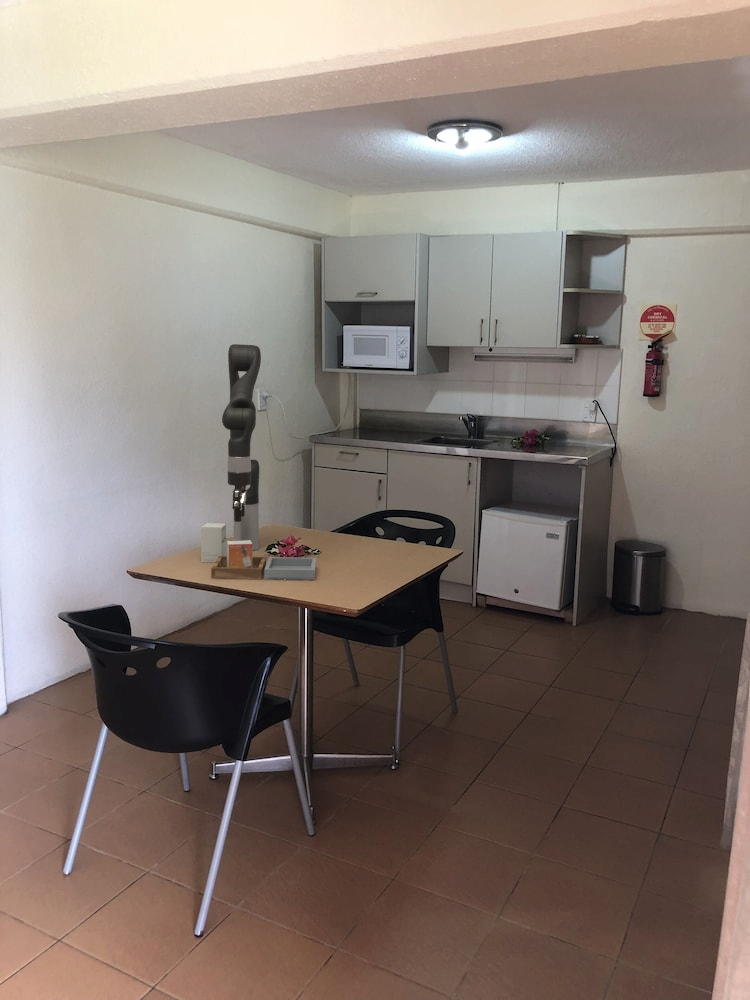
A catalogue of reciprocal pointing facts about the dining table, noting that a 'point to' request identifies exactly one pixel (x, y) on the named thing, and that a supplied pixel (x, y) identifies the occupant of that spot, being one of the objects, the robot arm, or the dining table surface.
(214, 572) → the frame
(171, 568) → the dining table surface
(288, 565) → the tray
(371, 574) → the dining table surface
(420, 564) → the dining table surface
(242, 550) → the small box
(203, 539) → the supplement box
